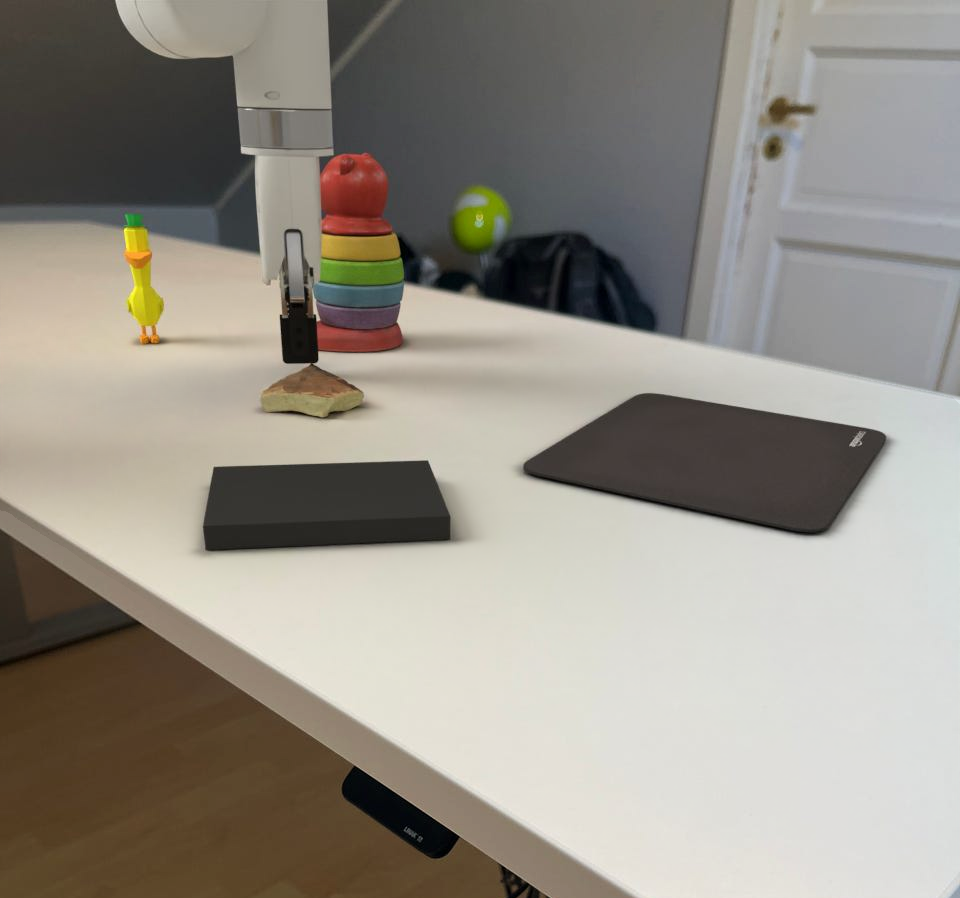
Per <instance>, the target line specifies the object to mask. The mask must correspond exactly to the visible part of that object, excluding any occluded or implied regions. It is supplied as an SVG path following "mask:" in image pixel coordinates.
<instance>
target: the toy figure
mask: <svg viewBox="0 0 960 898" xmlns="http://www.w3.org/2000/svg"><path fill="white" fill-rule="evenodd" d="M124 216H125V220H126V223H127V224H124V225H123V227H125V228H123V234H124V242H125V243H124V244H125V248H126V250H124V251H123V255H124V258H125V261H126V262H127V263H128V264H129V268H130V272H131V275H132V279H133V284H134V287H133V289H132V291H131V292H130V293H129V296H128V297H127V298H125V302H126V309H127V312H128V313H130V314H131V316H132V317H133V318H134V320H135V321H136V322H137V323H138V325H139V326H140V327H141V334H140V335H139V343H140V344H142V345H143V344H144V345H145V344H149V343H151V344H159V343H160V335H159V334H157V328H156V326H157V324H158V322H159V321H160V319H161V317H162V315H163V312H164V310H165V303H164V298H163V297H161V296H160V295H159V294H158V292H157V291H156V290H155V289H154V288H153V286H152V283H151V282H152V273H151V271H152V270H151V263H152V261H151V260H152V259H153V250H150V249H151V247H150V242H149V234H148V229H147V228H146V227H147V224H143V213H126V214H124ZM146 327H151V334H150V335H149V334H147V329H146Z"/></svg>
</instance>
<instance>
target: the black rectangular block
mask: <svg viewBox="0 0 960 898" xmlns="http://www.w3.org/2000/svg"><path fill="white" fill-rule="evenodd" d="M202 530H203V531H202V532H203V540H204V548H205V550H206V551H213V550H236V549H238V550H239V549H256V548H257V549H261V548H281V547H283V548H284V547H304V546H307V547H308V546H327V545H329V546H331V545H349V544H351V545H352V544H370V543H371V544H372V543H395V542H396V543H397V542H417V541H419V542H420V541H439V540H441V541H442V540H451V515H450V512H449V509H448V507H447V504H446V502H445V499H444V496H443V494H442V491H441V489H440V486H439V484H438V482H437V479H436V477H435V475H434V472H433V468H432V467H431V464H430V462H429V460H428V459H427V460H423V459H422V460H396V461H395V460H394V461H393V460H392V461H366V462H365V461H359V462H329V463H328V462H327V463H326V462H325V463H323V462H322V463H297V464H296V463H293V464H292V463H291V464H289V463H288V464H261V465H259V464H257V465H224V466H213V468H212V474H211V479H210V483H209V490H208V497H207V501H206V507H205V513H204V518H203V524H202Z"/></svg>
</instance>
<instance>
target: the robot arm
mask: <svg viewBox="0 0 960 898" xmlns="http://www.w3.org/2000/svg"><path fill="white" fill-rule="evenodd" d="M114 2H115V5H116V8H117V12H118V15H119V17H120V20H121V21H122V23H123V25H124V27H125V28H126V30H127V31H128V33H129V34H130V35H131V36H132V37H133V38H134V39H135V41H137V42H138V43H139V44H140V45H142V46H143V47H144V48H146V49H147V50H150V51H151V52H152V53H155V54H156V55H159V56H162V57H165V58H170V59H177V60H193V59H201V58H203V59H204V58H225V57H231V56H232V58H233V59H232V60H233V73H234V84H235V96H236V106H237V116H238V117H237V118H238V129H239V141H240V154H242V155H250V156H254V185H255V187H254V188H255V202H256V203H255V204H256V217H257V230H258V231H257V232H258V242H259V255H260V267H261V281H262V283H264V284H265V285H266V286H271V281H277V280H278V279H279V290H280V302H281V303H280V304H281V314H279V328H280V340H281V342H280V343H281V357H282V362H283V363H284V364H287V365H292V364H293V365H301V364H303V365H305V364H307V365H308V364H309V365H310V364H311V363H312V364H317V363H318V362H319V359H320V358H319V357H320V356H319V350H318V337H317V321H318V320H317V314H316V313H314V294H313V285H315V284H317V283H318V282H319V281H320V271H321V249H322V219H323V218H322V208H321V188H320V174H321V168H320V157H330V156H334V152H335V151H334V135H333V134H334V132H333V111H332V109H333V107H332V106H333V105H332V86H331V85H332V84H331V82H332V81H331V60H330V58H331V57H330V38H329V37H330V35H329V13H328V11H329V10H328V0H115V1H114ZM312 280H313V284H312Z"/></svg>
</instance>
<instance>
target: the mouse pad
mask: <svg viewBox="0 0 960 898" xmlns="http://www.w3.org/2000/svg"><path fill="white" fill-rule="evenodd" d="M886 439H887V435H886V433H884V432H882V431H879V430H877V429H873V428H868V427H863V426H857V425H851V424H844V423H839V422H833V421H826V420H820V419H814V418H810V417H809V418H808V417H803V416H797V415H792V414H791V415H790V414H786V413H785V414H784V413H779V412H773V411H767V410H762V409H761V410H760V409H754V408H749V407H743V406H738V405H737V406H736V405H732V404H731V405H730V404H725V403H718V402H712V401H706V400H700V399H693V398H688V397H683V396H676V395H669V394H665V393H664V394H663V393H655V392H644V393H639V394H636V395H634V396H632V397H630V398H629V399H627V400H625V401H624V402H621V404H619V405H617V406H615V407H614V408H612V409H611V410H609V411H607V412H605V413H604V414H602V415H601V416H600V415H599V417H597V418H595V419H593V420H592V421H591V422H589V423H587V424H585V425H584V426H582V427H580V428H579V429H577V430H575V431H573V432H572V433H571V434H569V435H567V436H566V437H564V438H562V439H561V440H559V441H557V442H555V443H554V444H552V445H551V446H549V447H547V448H546V449H544V450H542V451H541V452H539V453H538V454H536V455H534V456H533V457H531V458H529V459H527V460H526V461H525V462H524V463H523V466H522V469H523V470H524V472H526V473H528V474H530V475H531V474H532V475H534V476H537V477H541V478H546V479H551V480H555V481H559V482H564V483H569V484H574V485H578V486H583V487H589V488H592V489H598V490H602V491H606V492H611V493H616V494H621V495H625V496H630V497H634V498H639V499H644V500H649V501H652V502H658V503H663V504H667V505H672V506H677V507H681V508H686V509H691V510H695V511H699V512H705V513H709V514H714V515H719V516H723V517H727V518H733V519H737V520H743V521H746V522H751V523H756V524H760V525H765V526H770V527H773V528H779V529H783V530H788V531H794V532H800V533H817V532H821V531H824V530H826V529H827V528H829V527H830V526H831V524H832V522H833V521H834V519H835V517H836V516H837V515H838V513H839V512H840V510H841V509H842V507H843V506H844V504H845V503H846V501H847V500H848V498H849V497H850V495H851V494H852V492H853V490H854V489H855V488H856V486H857V485H858V483H859V482H860V480H861V479H862V477H863V475H864V474H865V472H866V471H867V470H868V468H869V466H870V465H871V464H872V461H873V460H874V459H875V457H876V456H877V454H878V452H879V451H880V450H881V448H882V446H883V445H884V443H885V442H886Z"/></svg>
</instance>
